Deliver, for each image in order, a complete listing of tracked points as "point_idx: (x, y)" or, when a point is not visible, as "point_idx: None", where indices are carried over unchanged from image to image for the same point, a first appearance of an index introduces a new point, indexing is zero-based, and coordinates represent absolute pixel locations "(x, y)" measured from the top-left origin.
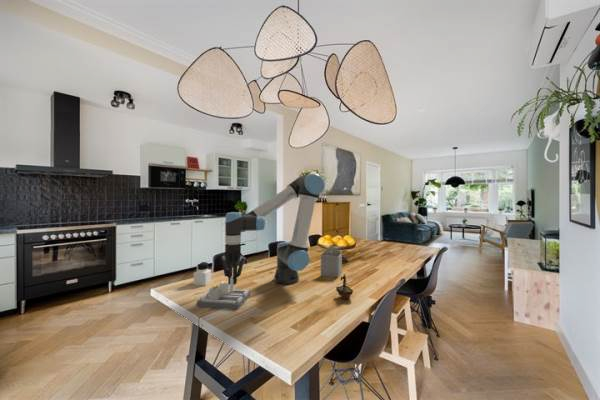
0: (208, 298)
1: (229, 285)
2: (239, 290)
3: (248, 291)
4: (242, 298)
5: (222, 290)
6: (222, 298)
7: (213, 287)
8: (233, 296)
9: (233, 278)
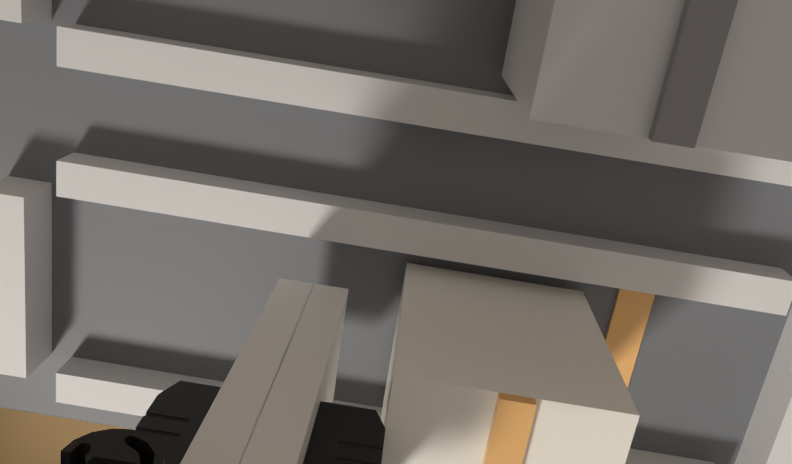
0: None
1: None
2: None
3: (27, 394)
4: (17, 49)
5: (530, 311)
6: (458, 46)
7: (780, 67)
8: (206, 69)
9: (131, 434)
